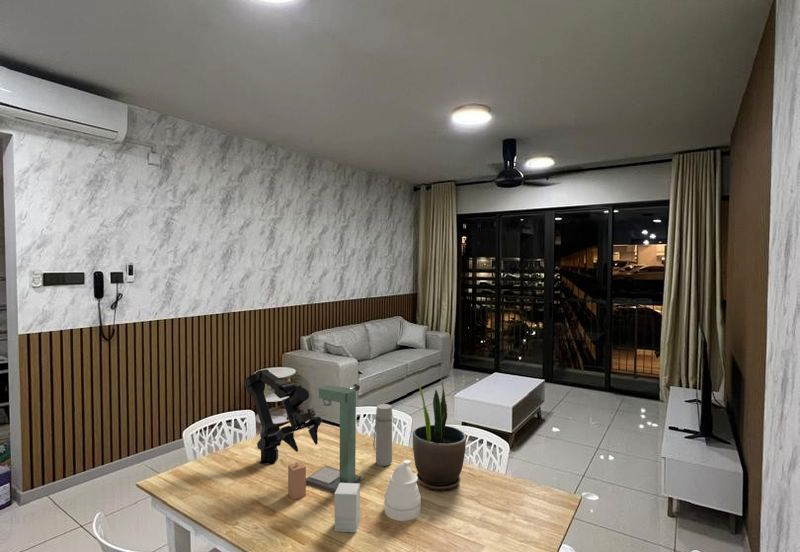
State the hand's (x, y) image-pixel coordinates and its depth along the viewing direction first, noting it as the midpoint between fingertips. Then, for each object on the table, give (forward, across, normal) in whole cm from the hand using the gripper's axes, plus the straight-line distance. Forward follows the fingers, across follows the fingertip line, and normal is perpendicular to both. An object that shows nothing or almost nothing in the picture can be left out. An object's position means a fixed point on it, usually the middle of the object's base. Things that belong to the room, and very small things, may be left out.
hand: (307, 447), depth 168 cm
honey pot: (+36, +12, -23) cm, 44 cm away
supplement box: (+31, -8, -18) cm, 37 cm away
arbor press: (+15, +11, +4) cm, 19 cm away
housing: (+14, -8, +5) cm, 17 cm away
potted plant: (+34, +37, -21) cm, 54 cm away
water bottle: (+17, +33, +1) cm, 37 cm away
